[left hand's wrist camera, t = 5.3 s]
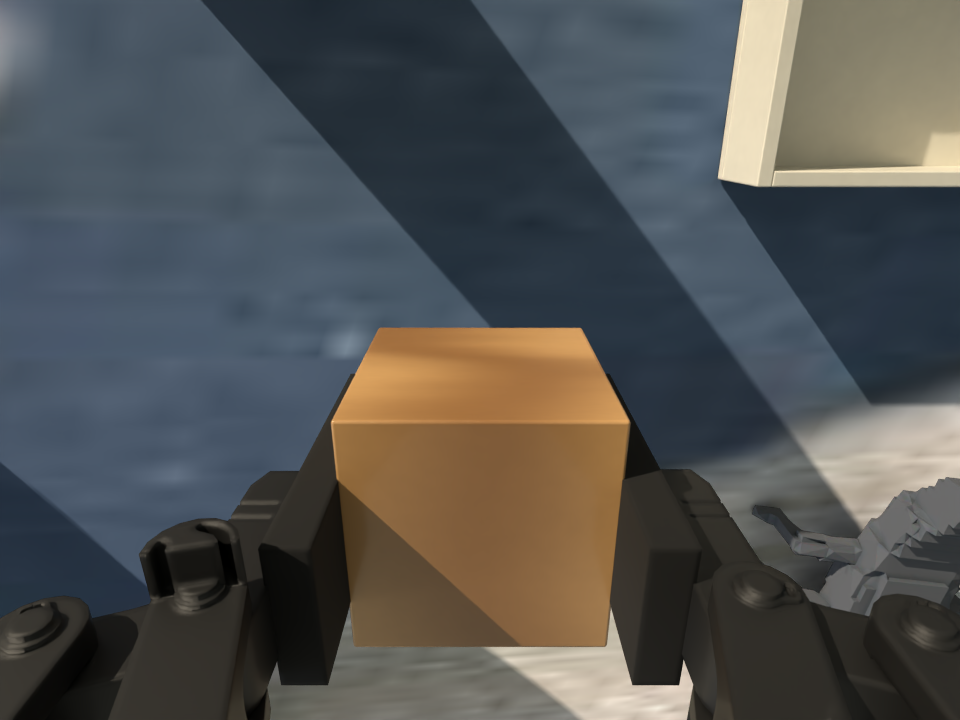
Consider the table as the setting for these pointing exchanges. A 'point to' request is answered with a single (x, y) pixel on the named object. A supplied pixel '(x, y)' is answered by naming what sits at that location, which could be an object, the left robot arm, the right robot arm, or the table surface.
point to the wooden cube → (480, 488)
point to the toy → (887, 551)
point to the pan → (845, 94)
